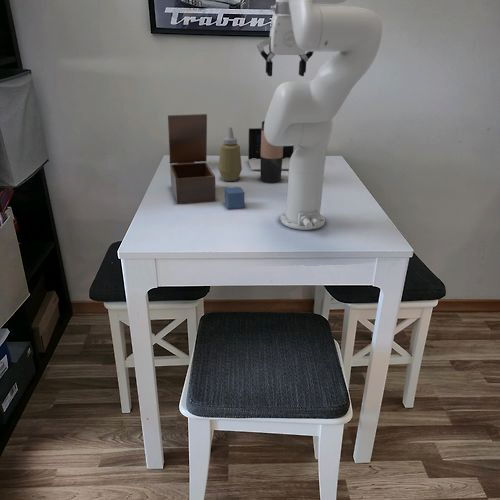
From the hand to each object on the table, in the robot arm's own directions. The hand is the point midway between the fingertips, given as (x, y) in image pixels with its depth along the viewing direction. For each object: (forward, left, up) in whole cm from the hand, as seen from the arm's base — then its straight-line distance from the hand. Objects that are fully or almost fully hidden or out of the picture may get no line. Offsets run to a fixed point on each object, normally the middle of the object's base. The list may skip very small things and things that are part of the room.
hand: (285, 75), depth 139 cm
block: (-9, +17, -36) cm, 41 cm away
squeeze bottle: (+16, +14, -37) cm, 42 cm away
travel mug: (+13, 0, -37) cm, 39 cm away
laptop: (+29, -5, -37) cm, 47 cm away
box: (+3, +28, -36) cm, 46 cm away
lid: (+9, +29, -20) cm, 36 cm away
